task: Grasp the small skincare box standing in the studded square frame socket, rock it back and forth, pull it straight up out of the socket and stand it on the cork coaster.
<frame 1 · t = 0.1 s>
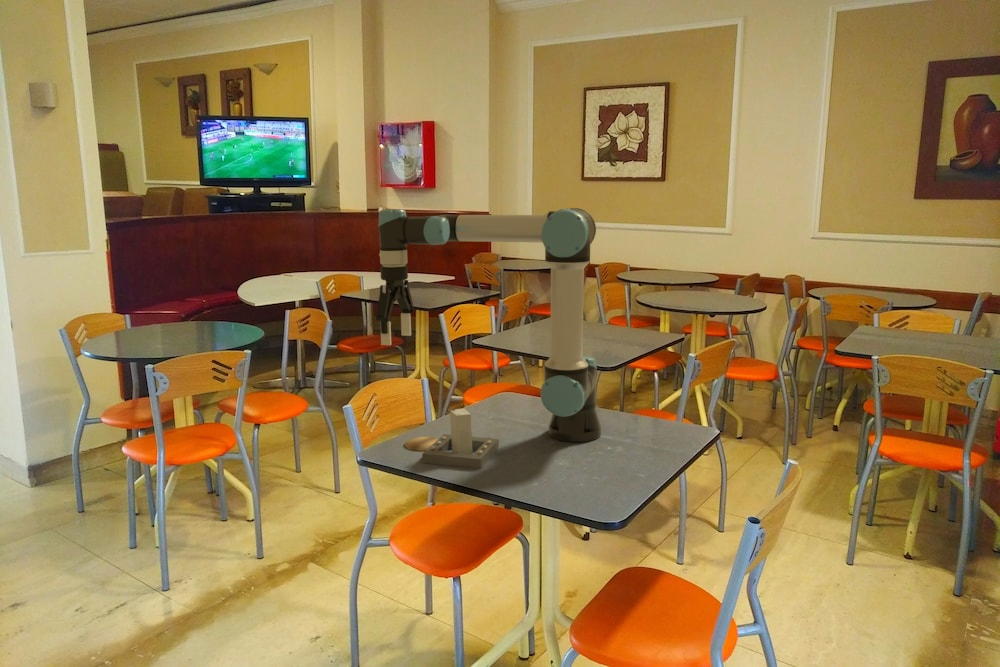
hand: (396, 340, 211), 28 cm above the table, fingers open, 13 cm apart
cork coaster: (423, 444, 207), on the table
skincare box: (461, 455, 199), resting in studded square frame
studded square frame: (461, 455, 199), on the table
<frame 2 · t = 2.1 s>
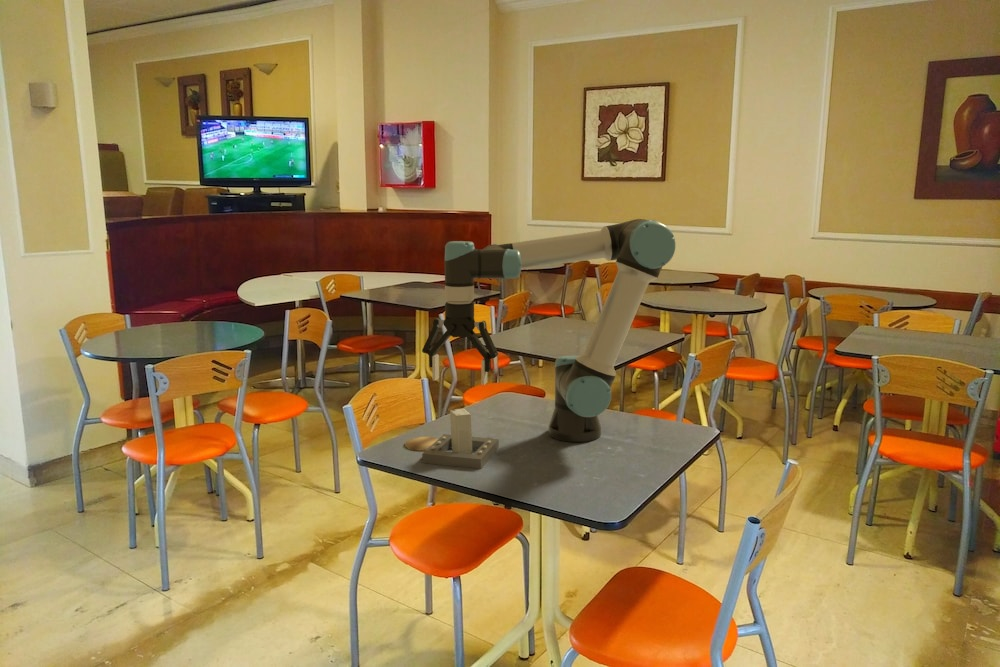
hand: (459, 381, 196), 20 cm above the table, fingers open, 13 cm apart
nothing on the table moved.
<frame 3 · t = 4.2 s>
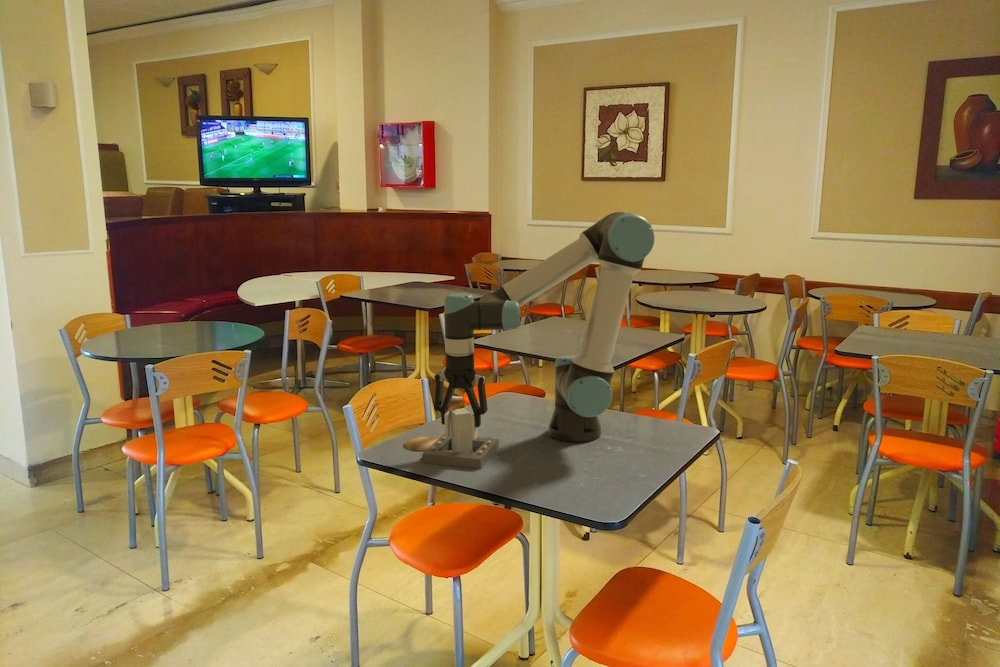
hand: (461, 437, 198), 5 cm above the table, fingers closed on skincare box, 7 cm apart
skincare box: (461, 455, 199), resting in studded square frame, touching gripper
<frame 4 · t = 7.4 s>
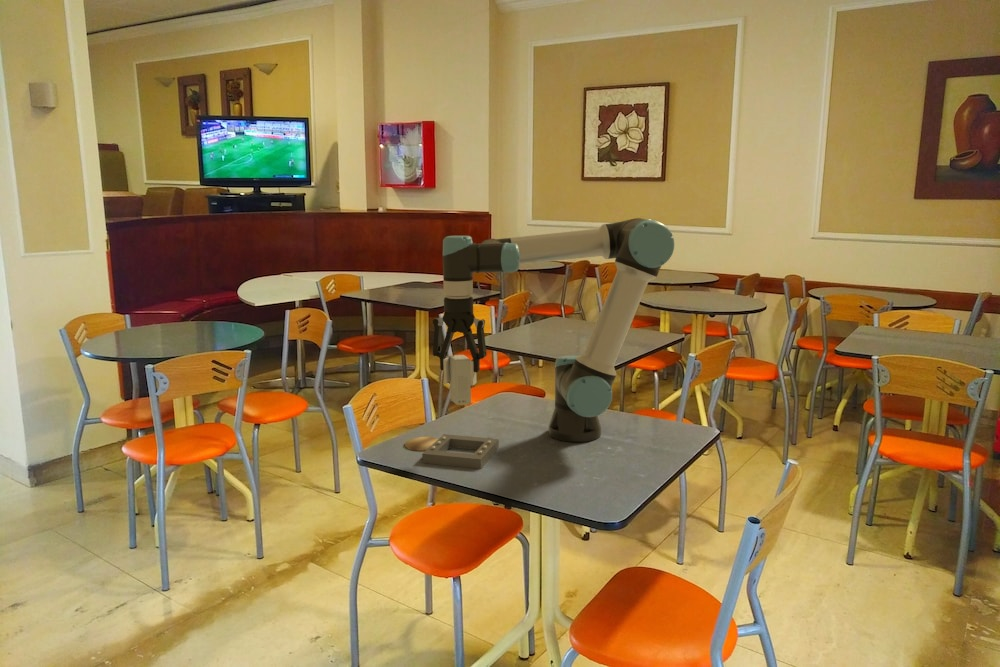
hand: (460, 383, 195), 20 cm above the table, fingers closed on skincare box, 7 cm apart
skincare box: (459, 402, 196), point 15 cm above the table, touching gripper
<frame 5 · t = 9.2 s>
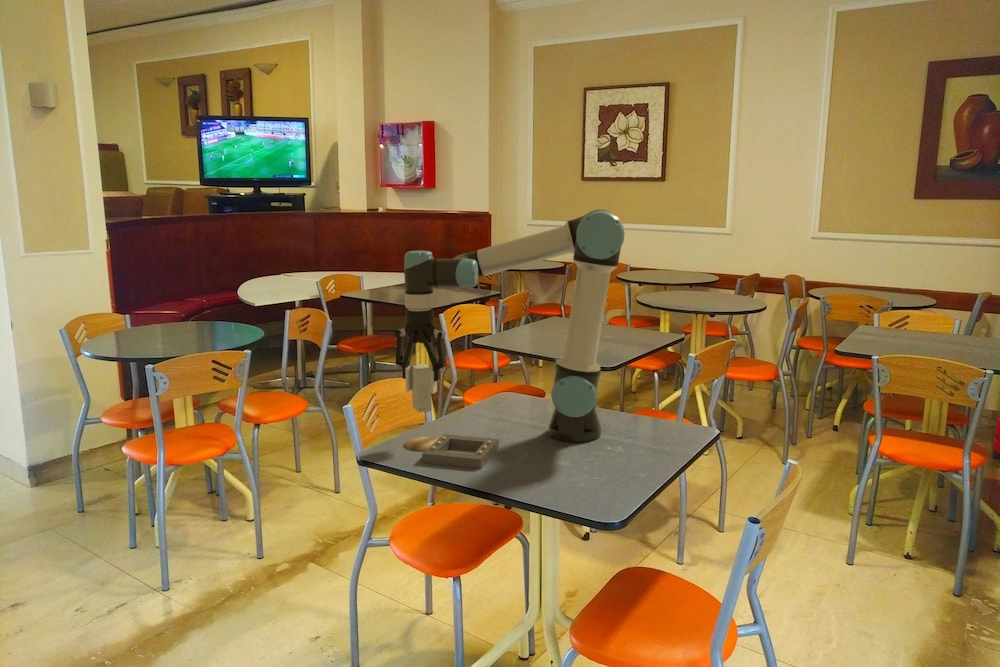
hand: (421, 391, 204), 15 cm above the table, fingers closed on skincare box, 7 cm apart
skincare box: (421, 409, 205), point 10 cm above the table, touching gripper
when the fingers open (7 cm above the table, at t = 11.0 s): skincare box drops 1 cm, resting on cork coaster.
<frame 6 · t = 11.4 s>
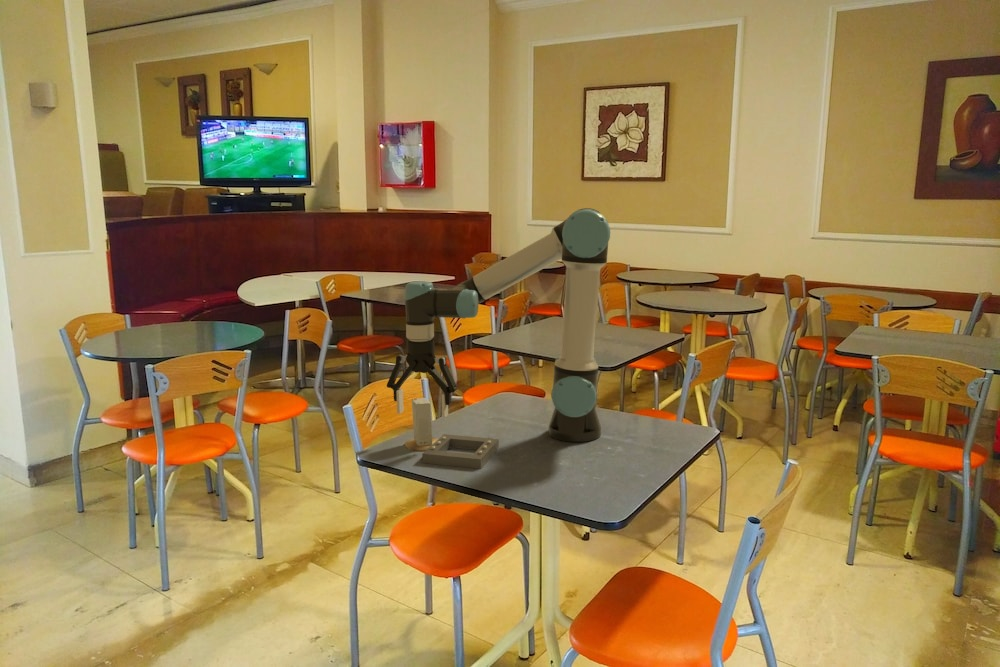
hand: (422, 414, 206), 9 cm above the table, fingers open, 13 cm apart
skincare box: (422, 443, 207), resting on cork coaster
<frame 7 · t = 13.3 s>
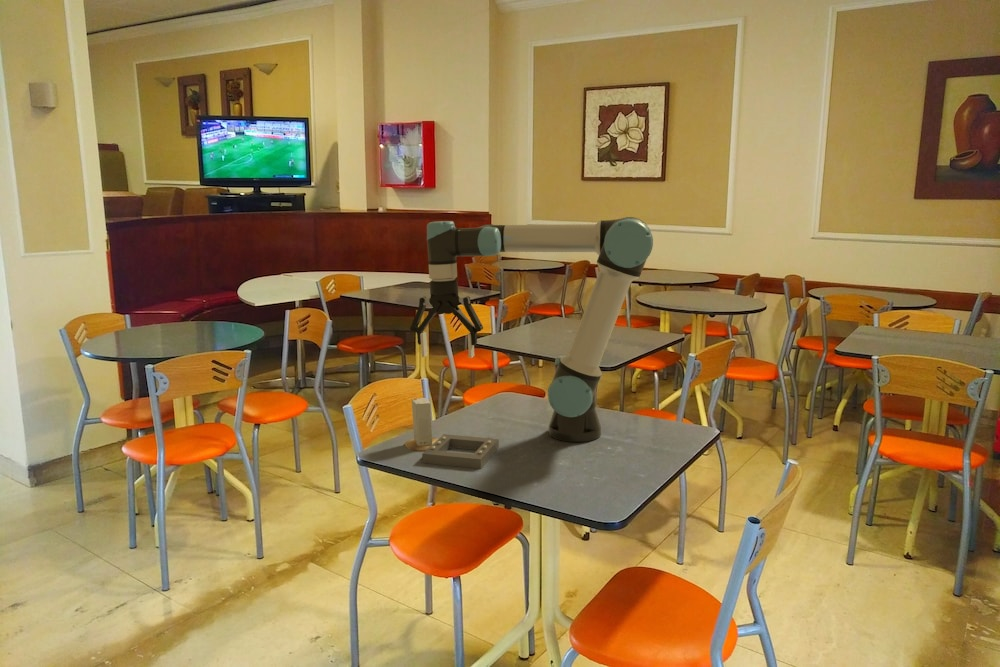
hand: (448, 356, 204), 25 cm above the table, fingers open, 13 cm apart
nothing on the table moved.
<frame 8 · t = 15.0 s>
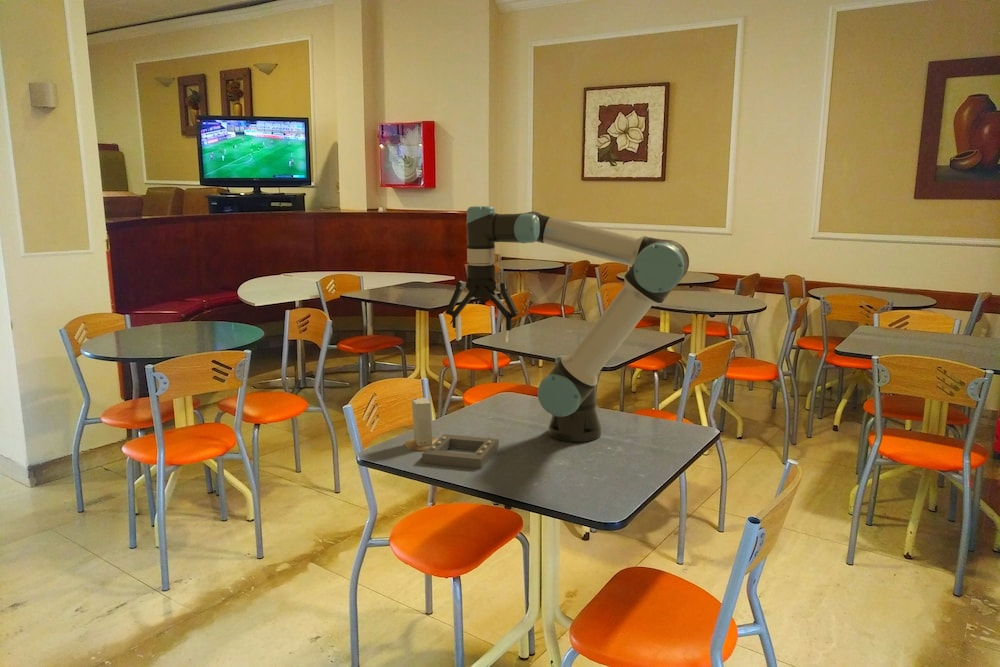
hand: (482, 340, 205), 29 cm above the table, fingers open, 13 cm apart
nothing on the table moved.
at the end: skincare box 0.2 cm from the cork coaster (horizontally); skincare box tilted 0°; skincare box resting on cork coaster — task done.
